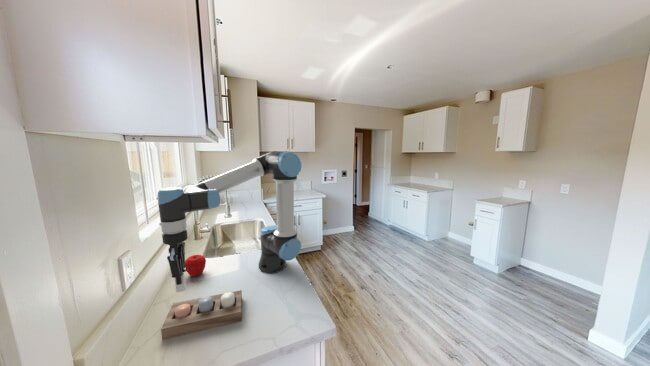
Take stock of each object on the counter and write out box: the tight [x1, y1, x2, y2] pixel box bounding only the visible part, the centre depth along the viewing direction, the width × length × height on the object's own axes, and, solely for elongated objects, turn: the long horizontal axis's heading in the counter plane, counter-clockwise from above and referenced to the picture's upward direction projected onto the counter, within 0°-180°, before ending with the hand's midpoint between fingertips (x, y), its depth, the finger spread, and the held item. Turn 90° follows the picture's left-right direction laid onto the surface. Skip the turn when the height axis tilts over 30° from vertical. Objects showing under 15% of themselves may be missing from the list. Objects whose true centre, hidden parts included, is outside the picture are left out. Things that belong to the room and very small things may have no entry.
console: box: [160, 289, 243, 340], centre depth 89 cm, size 14×26×4 cm, turn 109°
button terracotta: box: [175, 304, 191, 319], centre depth 86 cm, size 5×5×5 cm
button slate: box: [198, 295, 214, 314], centre depth 88 cm, size 5×5×5 cm
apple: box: [184, 254, 207, 278], centre depth 117 cm, size 10×10×11 cm
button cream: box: [221, 291, 235, 309], centre depth 91 cm, size 5×5×5 cm
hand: (181, 290), depth 84 cm, fingers closed
